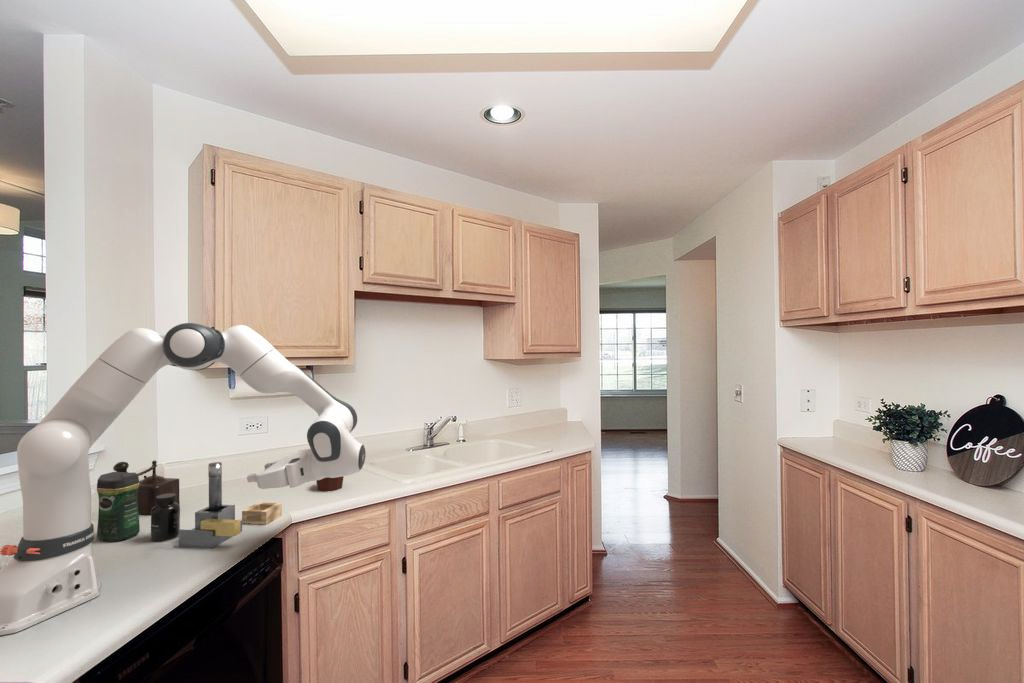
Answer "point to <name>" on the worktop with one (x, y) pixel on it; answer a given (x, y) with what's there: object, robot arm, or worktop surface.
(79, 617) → the worktop surface
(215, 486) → the grey cylinder
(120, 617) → the worktop surface
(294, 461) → the robot arm
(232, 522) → the yellow rectangular block
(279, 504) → the open box
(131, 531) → the coffee jar
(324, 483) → the muffin
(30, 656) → the worktop surface
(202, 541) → the socket
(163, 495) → the supplement bottle
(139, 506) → the manual coffee grinder
